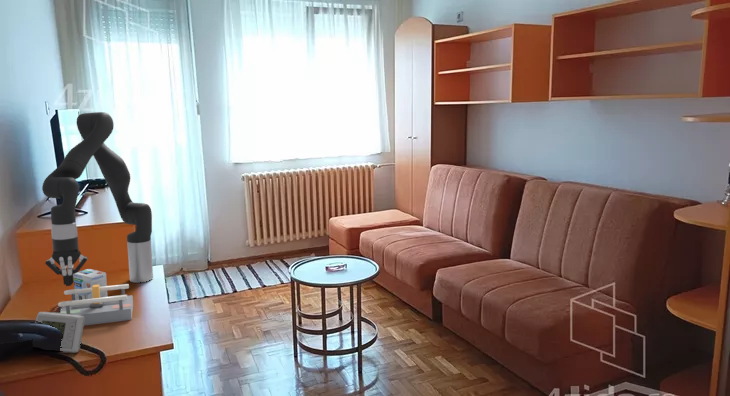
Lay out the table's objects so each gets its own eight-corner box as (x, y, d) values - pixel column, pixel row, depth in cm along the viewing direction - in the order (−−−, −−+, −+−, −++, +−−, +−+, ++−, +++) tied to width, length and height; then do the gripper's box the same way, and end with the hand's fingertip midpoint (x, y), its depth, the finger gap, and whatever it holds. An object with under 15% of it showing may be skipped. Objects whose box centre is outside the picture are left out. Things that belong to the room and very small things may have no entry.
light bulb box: (74, 300, 198) (72, 272, 196) (91, 294, 203) (88, 268, 202) (92, 305, 193) (90, 277, 191) (108, 299, 199) (106, 272, 197)
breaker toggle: (91, 303, 182) (89, 284, 181) (104, 302, 184) (102, 283, 183) (90, 307, 179) (88, 288, 178) (103, 306, 180) (101, 286, 179)
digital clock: (28, 349, 157) (25, 316, 155) (56, 337, 165) (53, 305, 164) (66, 359, 151) (63, 325, 149) (92, 346, 159) (90, 313, 158)
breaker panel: (65, 313, 184) (63, 289, 183) (133, 305, 192) (131, 282, 191) (58, 328, 172) (56, 303, 170) (131, 319, 180) (129, 295, 178)
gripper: (88, 232, 180) (91, 280, 183) (44, 235, 175) (48, 284, 178) (85, 237, 173) (89, 286, 176) (39, 240, 168) (44, 291, 171)
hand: (68, 285), depth 177 cm, fingers closed
